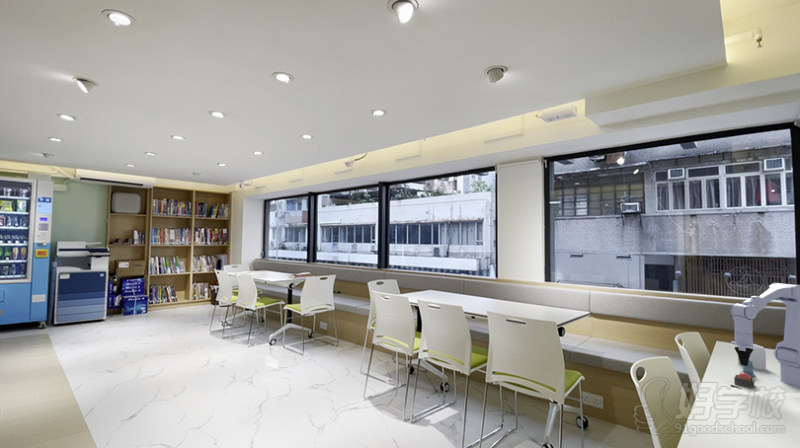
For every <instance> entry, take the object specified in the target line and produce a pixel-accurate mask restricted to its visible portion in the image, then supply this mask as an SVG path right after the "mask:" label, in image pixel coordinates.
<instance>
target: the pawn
mask: <svg viewBox="0 0 800 448" xmlns="http://www.w3.org/2000/svg"><path fill="white" fill-rule="evenodd" d="M752 365H753V363H752V361H750V360H749V362H748V365H747V366H742V371H741V372H740V373H747V374H748V375H749V376H750V377H751V378H752V377H755V375H756V373H754V368H753V366H752Z"/></svg>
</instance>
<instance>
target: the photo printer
mask: <svg viewBox="0 0 800 448" xmlns="http://www.w3.org/2000/svg"><path fill="white" fill-rule="evenodd" d="M753 345H754V347H750V348H751V349H753V352H752V353H751V354H750V358H749V360H750V361H752V363H753V365H752V366H753V369H756V370H757V369H758V370H762V371H767V358H766V357H767V356H766V354H767V353H766V349H765V347H764V346H762V345H759V344H756V343H753ZM737 364H738V366H742V367H743V365H741V364H740V361H739V357H738V356H737Z"/></svg>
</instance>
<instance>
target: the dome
mask: <svg viewBox="0 0 800 448" xmlns="http://www.w3.org/2000/svg"><path fill="white" fill-rule="evenodd" d="M738 375H739V376H738V378H741V379H746V380H750V381H751V378H752V377H751V378H750V376H749V375H748V374H747V373H741V372H740V373H739V374H738Z"/></svg>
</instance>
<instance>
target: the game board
mask: <svg viewBox="0 0 800 448" xmlns="http://www.w3.org/2000/svg"><path fill="white" fill-rule="evenodd" d="M738 376H739V374H735V376H734V378H733V379H734V385H733V384H730V387H731V388H736V389H740V390H742V388H740V387H738V386H741V387H745V388H750V389H754V388H755V383H756V379H757V377H758V375H756V374H755V377H750V378H751V381H750V380H746V379H741V378H738ZM736 385H737V386H736Z"/></svg>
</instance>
